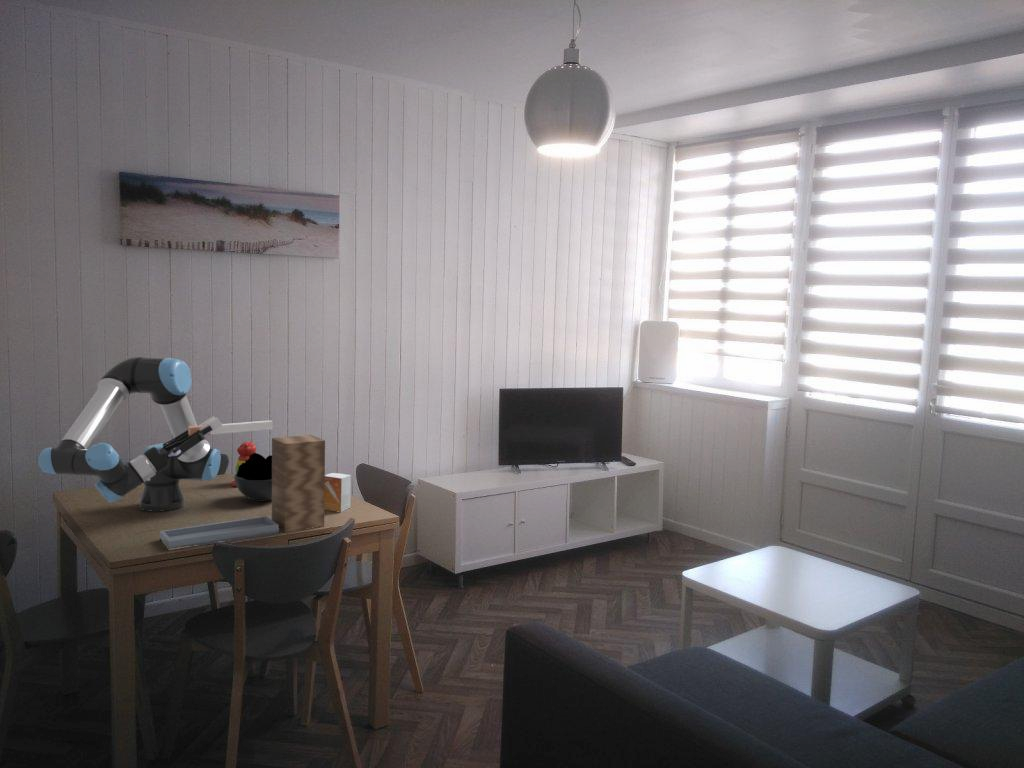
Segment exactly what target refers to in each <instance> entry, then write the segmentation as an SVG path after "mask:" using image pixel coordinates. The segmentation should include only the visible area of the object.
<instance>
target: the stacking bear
mask: <svg viewBox="0 0 1024 768" xmlns="http://www.w3.org/2000/svg"><path fill="white" fill-rule="evenodd" d="M256 450H257V446H256V444H255V443H253V442H252V441H251V440H249V441H245V442H242V443H241V444H240V446H238V447H237V448H236V451H237V453H238V454H239V456H238V457H237V460H236V465H235V474H237V472H238V469H239V466H240V465H241V464H242V463H245V461H246V460H248V459H249V457H250V455H252V454H253V453H256V452H257V451H256ZM230 486H231V487H233V486H237V485H236V483H235V480H233V481H232V482H231V483H230Z"/></svg>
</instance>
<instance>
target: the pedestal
mask: <svg viewBox="0 0 1024 768" xmlns="http://www.w3.org/2000/svg"><path fill="white" fill-rule="evenodd" d="M271 456H272V499H271V520H272V521H274V522H275V523H277V524H278V525H279V530H280V531H282V532H283V533H290V531H291V532H296V531H297V530H298V531H303V530H302V529H304V530H308V529H307V528H310V529H313V528H312V527H316V528H320V527H319V526H323V527H325V510H324V500H325V475H326V473H325V472H326V469H325V468H326V440H324V439H322V438H320V437H317V436H314V435H313V434H308V435H307V434H306V435H294V436H281V437H272V438H271Z"/></svg>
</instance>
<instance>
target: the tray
mask: <svg viewBox="0 0 1024 768" xmlns="http://www.w3.org/2000/svg"><path fill="white" fill-rule="evenodd" d="M279 530H280V529H279V525H278V524H277V523H275V522H274V521H272V518H269V517H268V516H267V515H263V516H262V515H261V516H257V517H256V516H255V517H249V518H241V519H235V520H229V521H221V522H214V523H213V522H212V523H207V524H201V525H200V524H199V525H191V526H186V527H179V528H172V529H165V530H159V540H160V539H161V540H162V541H163V542H164V543H165V544H166V546H168V548H169V549H171V548H177V547H185V546H194V545H203V546H208V545H207V544H210V545H215V544H214V543H215V542H218V541H228V542H230V541H229V540H235V541H238V540H237V539H241V540H245V539H244V538H247V539H251V538H250V537H254V538H258V537H257V536H260V537H264V536H265V535H266V536H272V534H273V535H277V534H279ZM228 542H227V543H228Z"/></svg>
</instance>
